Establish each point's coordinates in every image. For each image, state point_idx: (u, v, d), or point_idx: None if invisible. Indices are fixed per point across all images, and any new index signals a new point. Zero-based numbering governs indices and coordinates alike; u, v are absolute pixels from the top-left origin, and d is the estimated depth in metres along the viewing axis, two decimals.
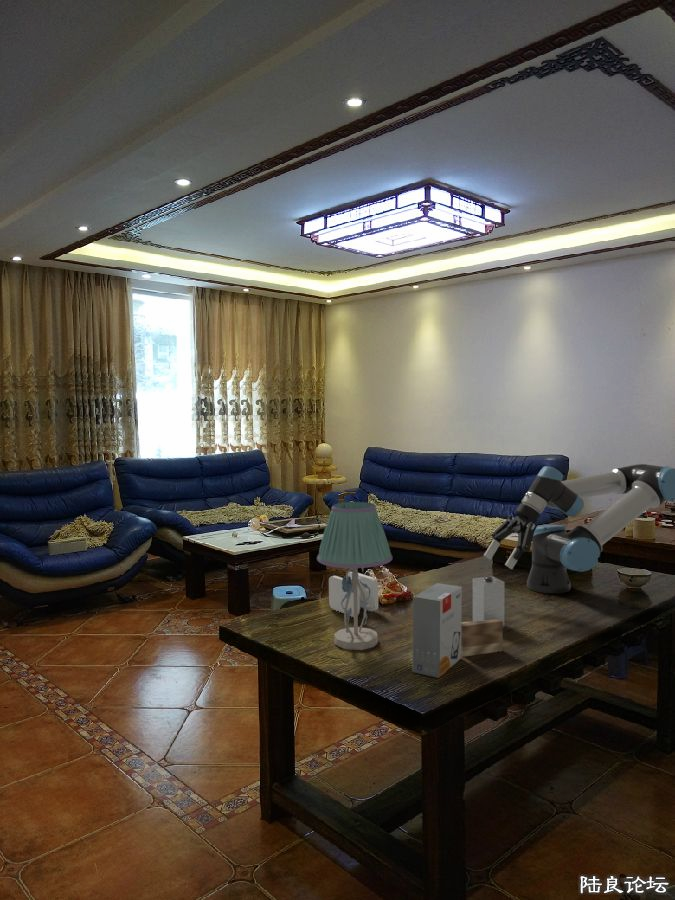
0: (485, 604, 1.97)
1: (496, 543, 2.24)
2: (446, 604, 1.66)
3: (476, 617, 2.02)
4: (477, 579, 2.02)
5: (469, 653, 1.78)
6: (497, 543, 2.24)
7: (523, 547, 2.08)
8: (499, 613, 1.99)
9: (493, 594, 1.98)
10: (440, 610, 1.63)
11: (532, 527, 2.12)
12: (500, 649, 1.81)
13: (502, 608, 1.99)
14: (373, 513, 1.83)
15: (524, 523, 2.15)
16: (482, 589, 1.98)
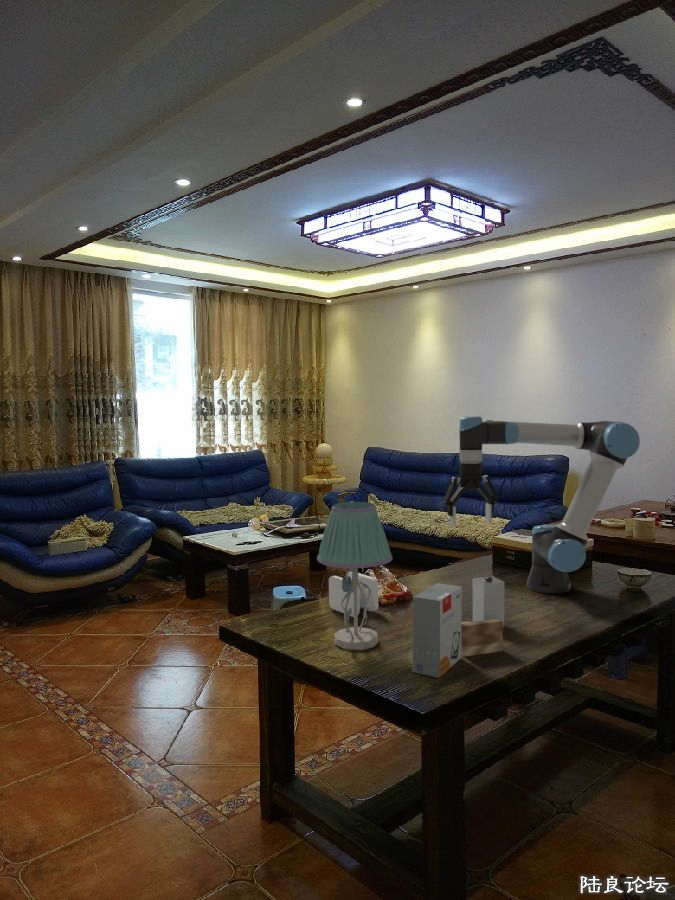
0: (485, 604, 1.97)
1: (487, 506, 2.25)
2: (446, 604, 1.66)
3: (476, 617, 2.02)
4: (477, 579, 2.02)
5: (469, 653, 1.78)
6: (488, 505, 2.25)
7: None
8: (499, 613, 1.99)
9: (493, 594, 1.98)
10: (440, 610, 1.63)
11: (452, 481, 2.21)
12: (500, 649, 1.81)
13: (502, 608, 1.99)
14: (373, 513, 1.83)
15: None
16: (482, 589, 1.98)
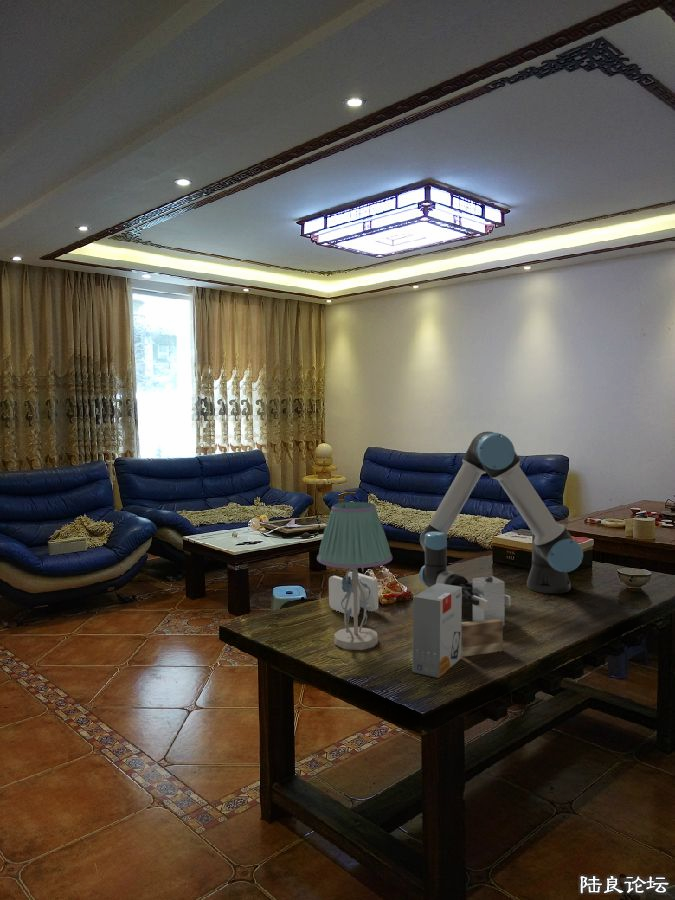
0: None
1: None
2: (446, 604, 1.66)
3: (476, 616, 2.02)
4: (477, 579, 2.02)
5: (469, 653, 1.78)
6: None
7: (463, 604, 2.01)
8: (499, 613, 1.99)
9: (494, 594, 1.98)
10: (440, 610, 1.63)
11: None
12: (500, 649, 1.81)
13: (502, 608, 1.99)
14: (373, 513, 1.83)
15: None
16: (482, 589, 1.98)
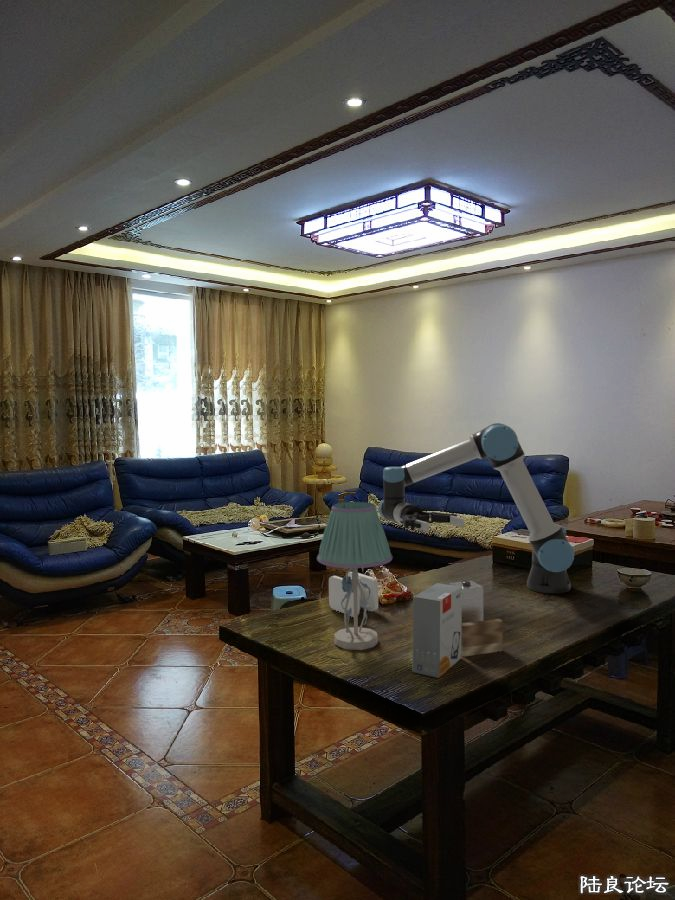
0: (463, 611, 1.84)
1: (451, 520, 2.15)
2: (446, 604, 1.66)
3: None
4: (454, 584, 1.89)
5: (469, 653, 1.78)
6: (451, 519, 2.15)
7: None
8: (478, 620, 1.86)
9: (472, 600, 1.85)
10: (440, 610, 1.63)
11: (401, 520, 2.17)
12: (500, 649, 1.81)
13: (481, 615, 1.86)
14: (373, 513, 1.84)
15: None
16: None
